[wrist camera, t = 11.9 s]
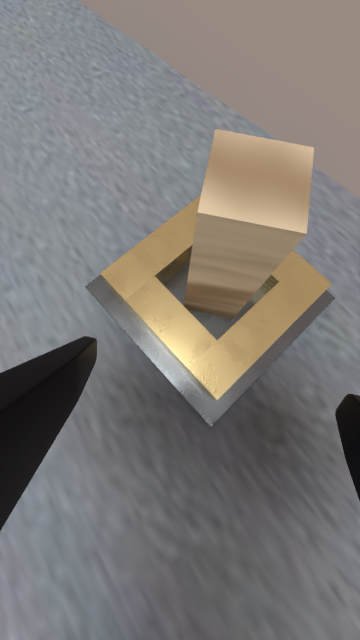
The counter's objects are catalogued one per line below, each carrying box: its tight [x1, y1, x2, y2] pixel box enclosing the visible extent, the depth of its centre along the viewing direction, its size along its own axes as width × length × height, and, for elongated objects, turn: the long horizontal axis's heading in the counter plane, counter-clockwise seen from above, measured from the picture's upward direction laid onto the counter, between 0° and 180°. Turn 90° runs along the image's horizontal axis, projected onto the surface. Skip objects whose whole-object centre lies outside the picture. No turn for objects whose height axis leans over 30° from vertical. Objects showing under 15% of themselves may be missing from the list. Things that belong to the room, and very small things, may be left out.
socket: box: [86, 195, 335, 427], centre depth 22 cm, size 16×16×4 cm
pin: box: [184, 129, 314, 319], centre depth 17 cm, size 4×4×13 cm
